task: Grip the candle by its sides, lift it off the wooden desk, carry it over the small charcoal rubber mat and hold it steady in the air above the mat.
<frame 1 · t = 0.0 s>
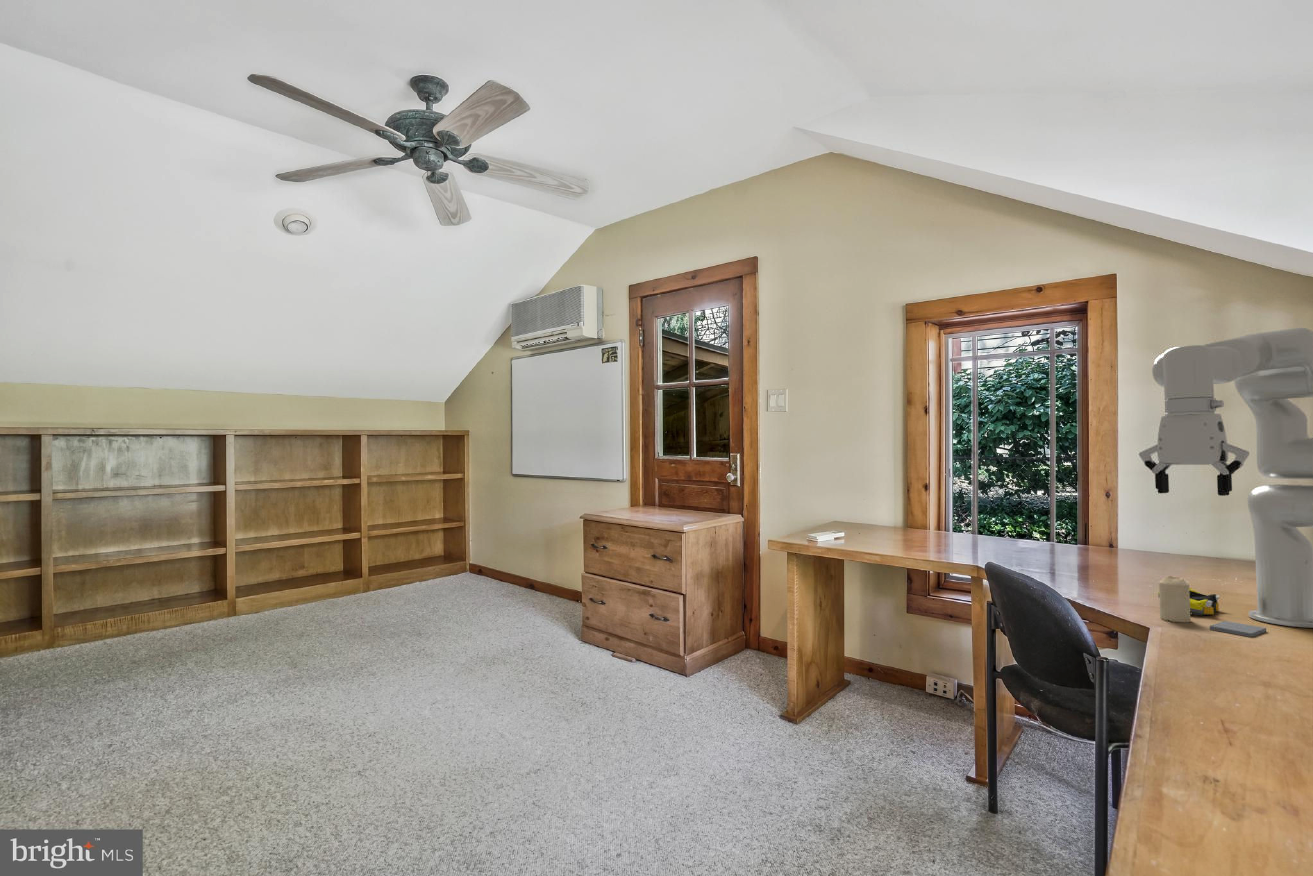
hand: (1192, 494, 123), 31 cm above the table, tool pointing down, fingers open, 9 cm apart
desk mat: (1237, 630, 137), on the table
candle: (1175, 620, 147), on the table
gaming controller: (1190, 611, 155), on the table
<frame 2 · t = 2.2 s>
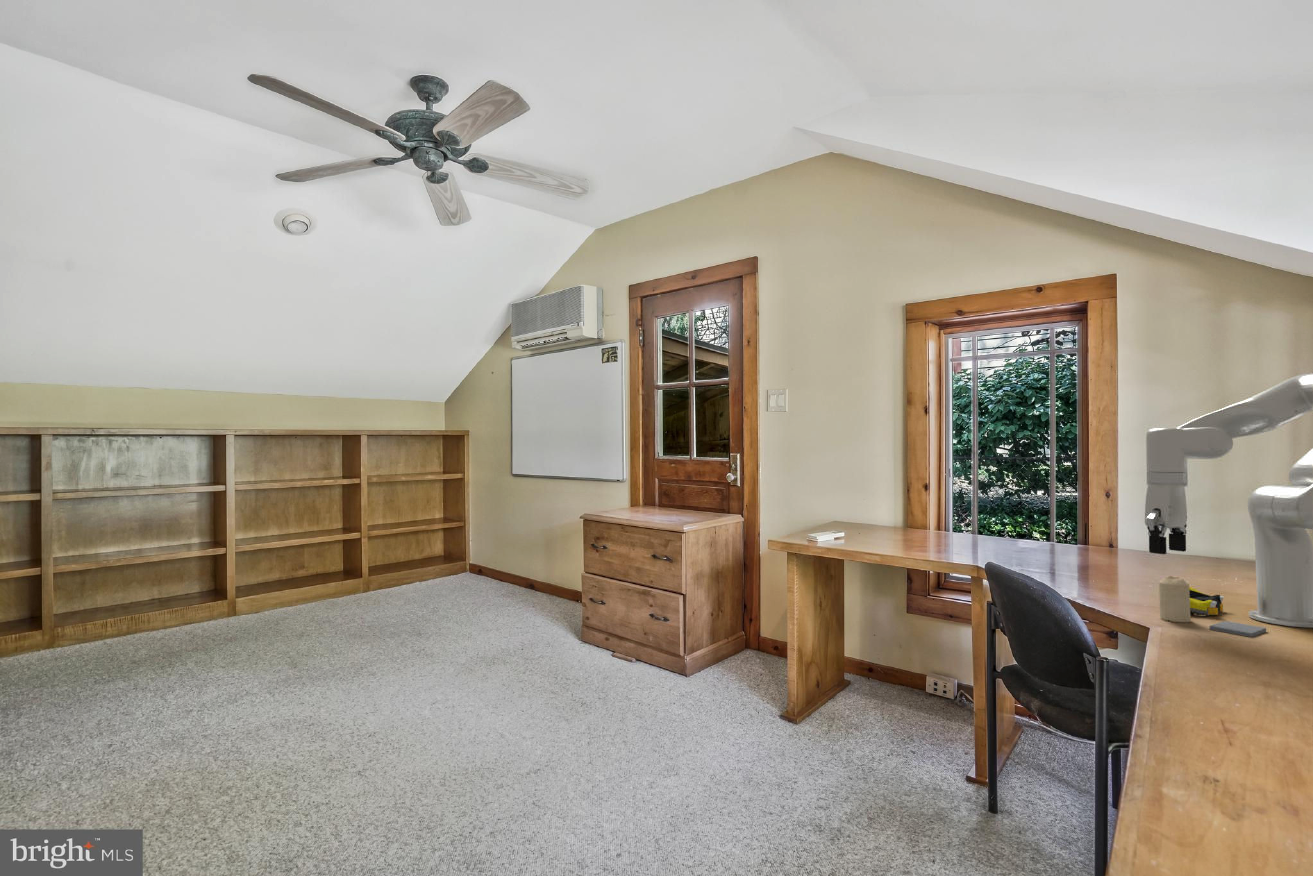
hand: (1167, 552, 147), 16 cm above the table, tool pointing down, fingers open, 9 cm apart
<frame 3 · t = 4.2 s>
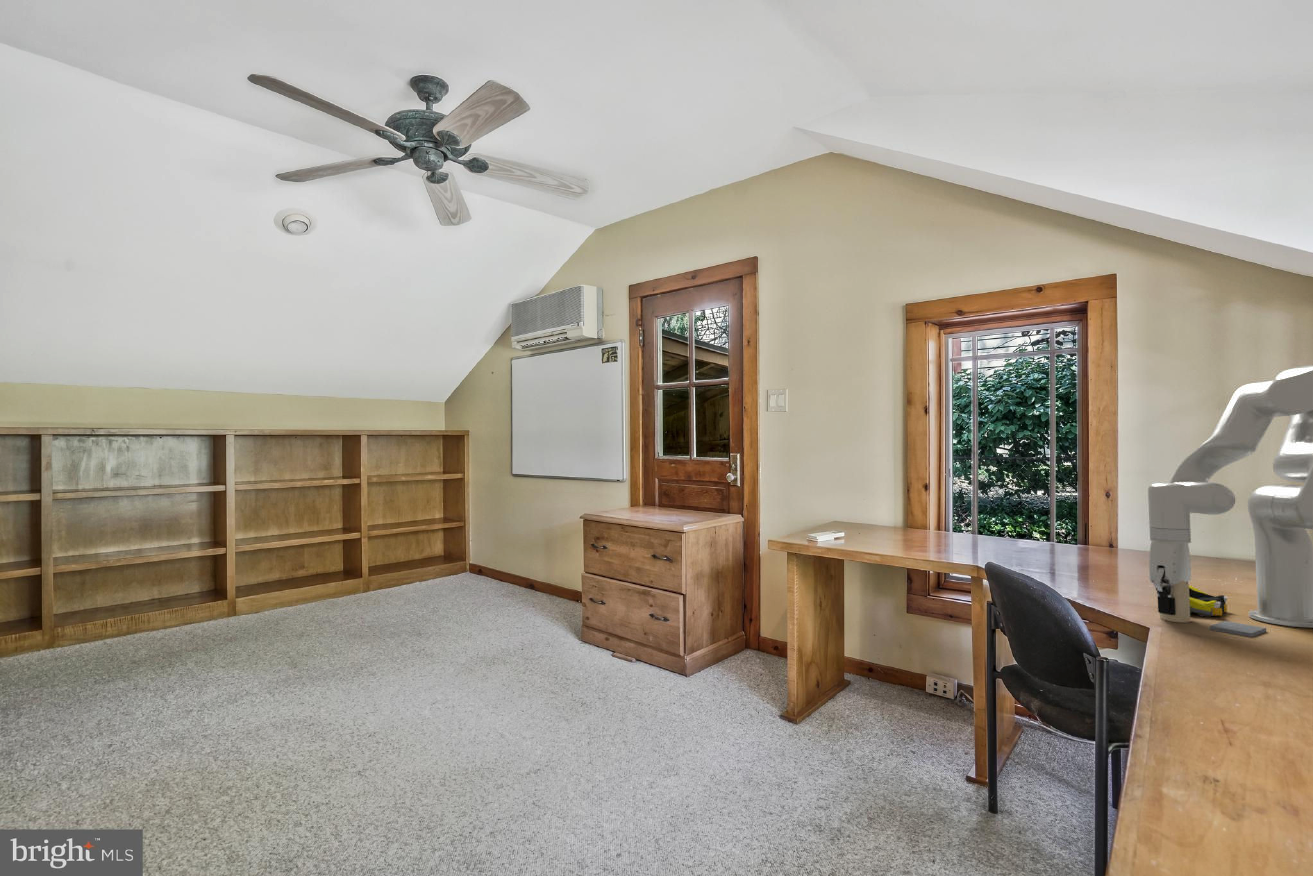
hand: (1173, 611, 147), 2 cm above the table, tool pointing down, fingers closed on candle, 5 cm apart
candle: (1174, 620, 147), on the table, touching gripper
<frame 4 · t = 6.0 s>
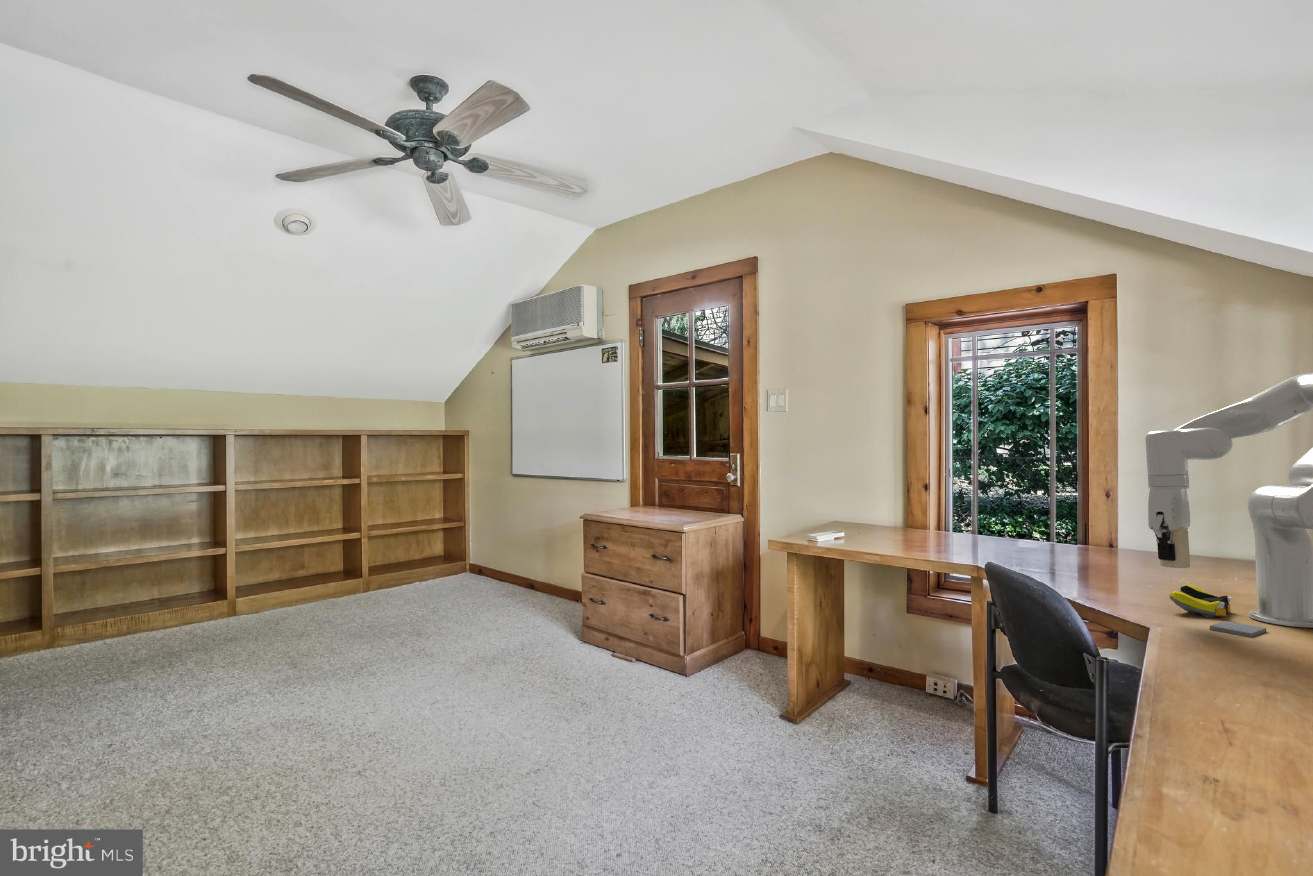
hand: (1173, 557, 147), 15 cm above the table, tool pointing down, fingers closed on candle, 5 cm apart
candle: (1175, 567, 147), point 12 cm above the table, touching gripper
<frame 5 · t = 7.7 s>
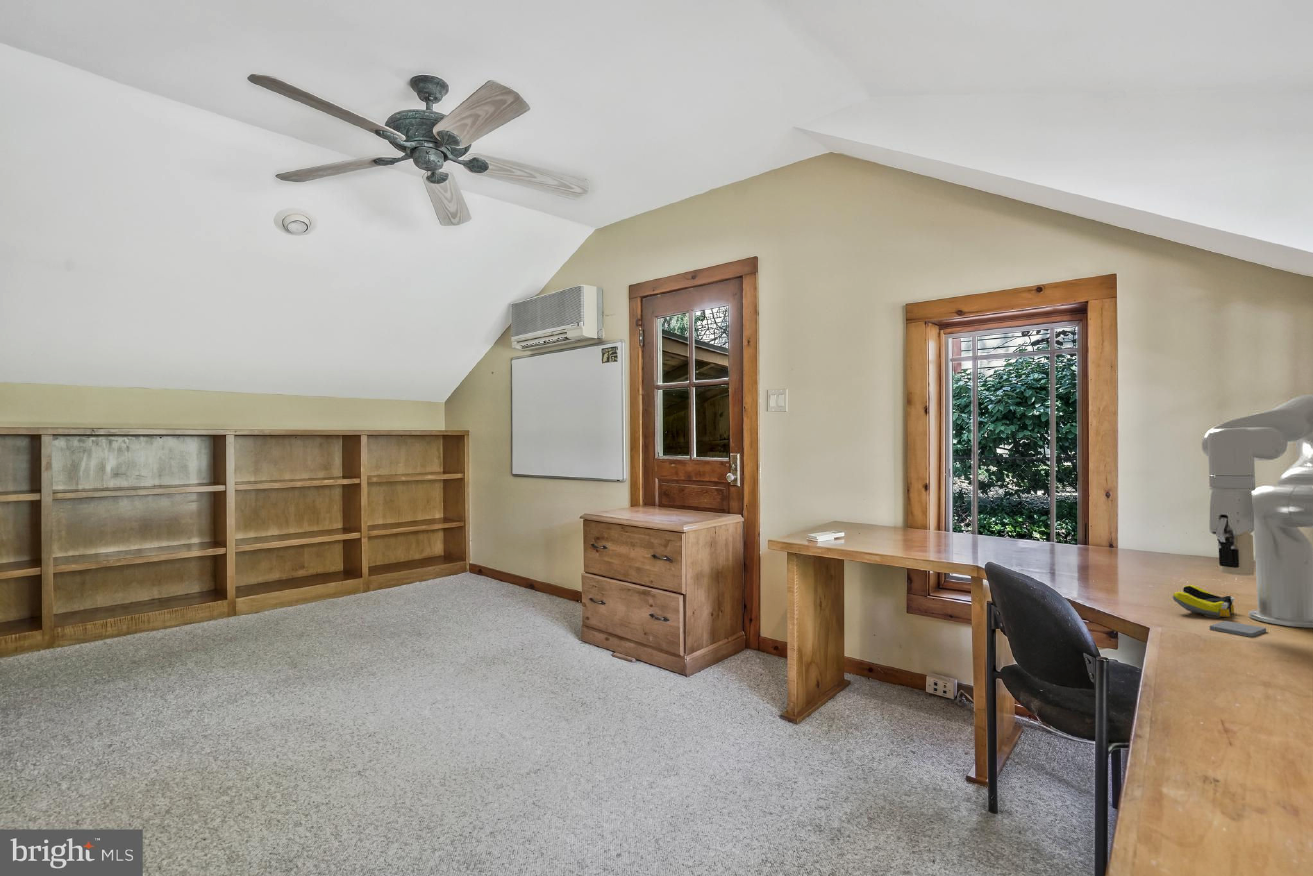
hand: (1235, 564, 138), 14 cm above the table, tool pointing down, fingers closed on candle, 5 cm apart
candle: (1237, 574, 137), point 12 cm above the table, touching gripper
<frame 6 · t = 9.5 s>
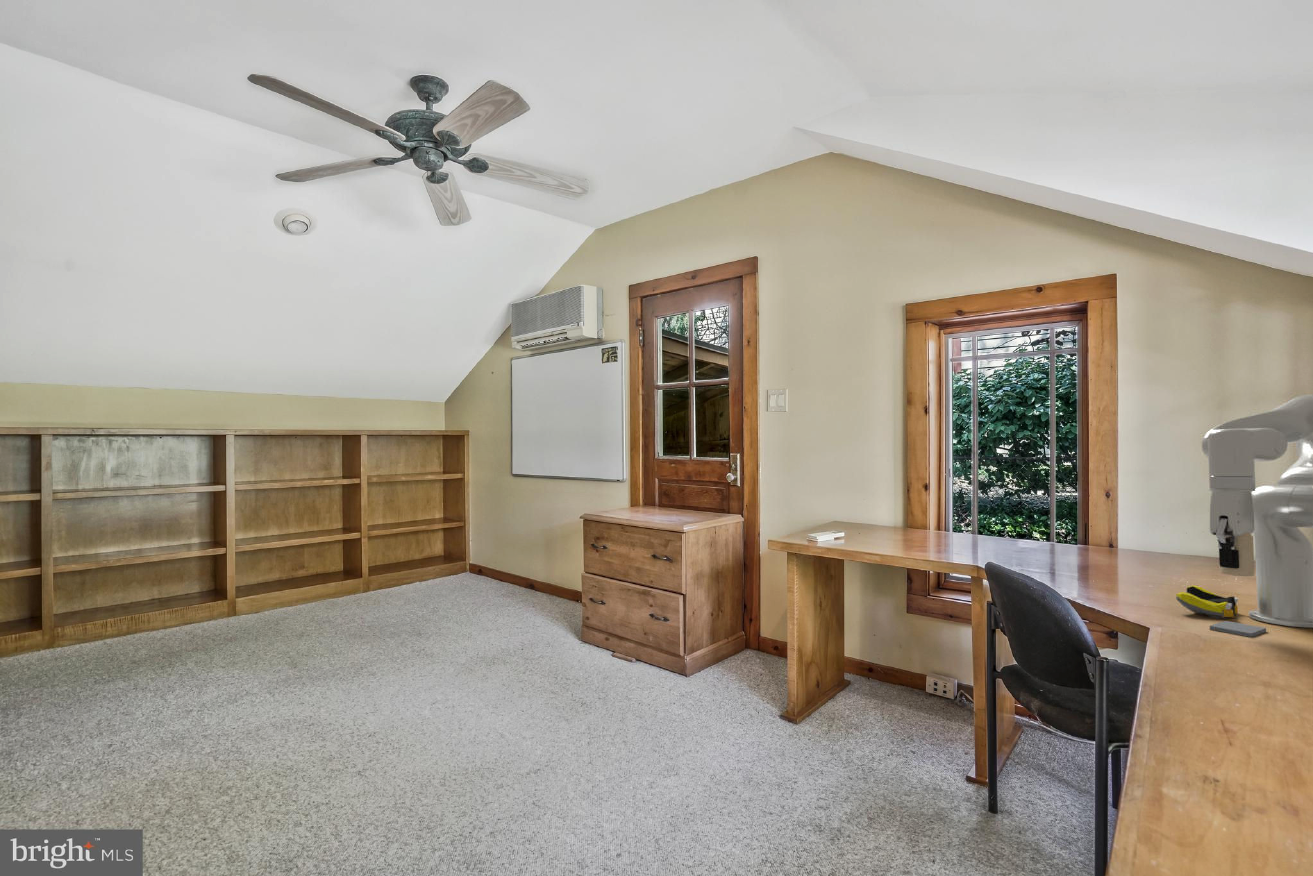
hand: (1235, 565, 138), 14 cm above the table, tool pointing down, fingers closed on candle, 5 cm apart
candle: (1237, 575, 137), point 12 cm above the table, touching gripper
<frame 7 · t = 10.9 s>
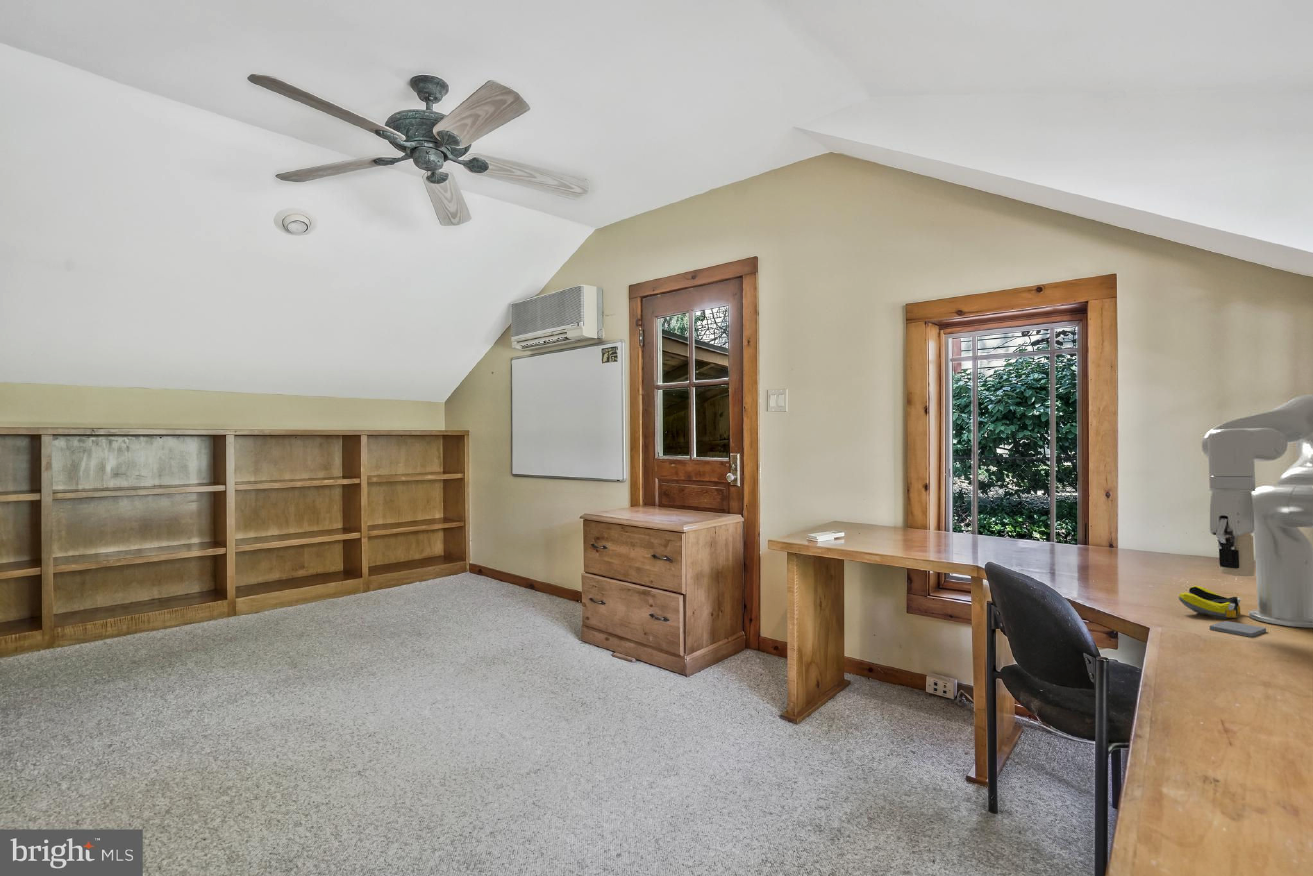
hand: (1235, 565, 138), 14 cm above the table, tool pointing down, fingers closed on candle, 5 cm apart
candle: (1237, 575, 137), point 12 cm above the table, touching gripper
at the end: the gripper is holding candle; candle inside the target area on the desk mat (0.2 cm from its centre), point 12.2 cm above the desk mat's base; candle tilted 0° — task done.
